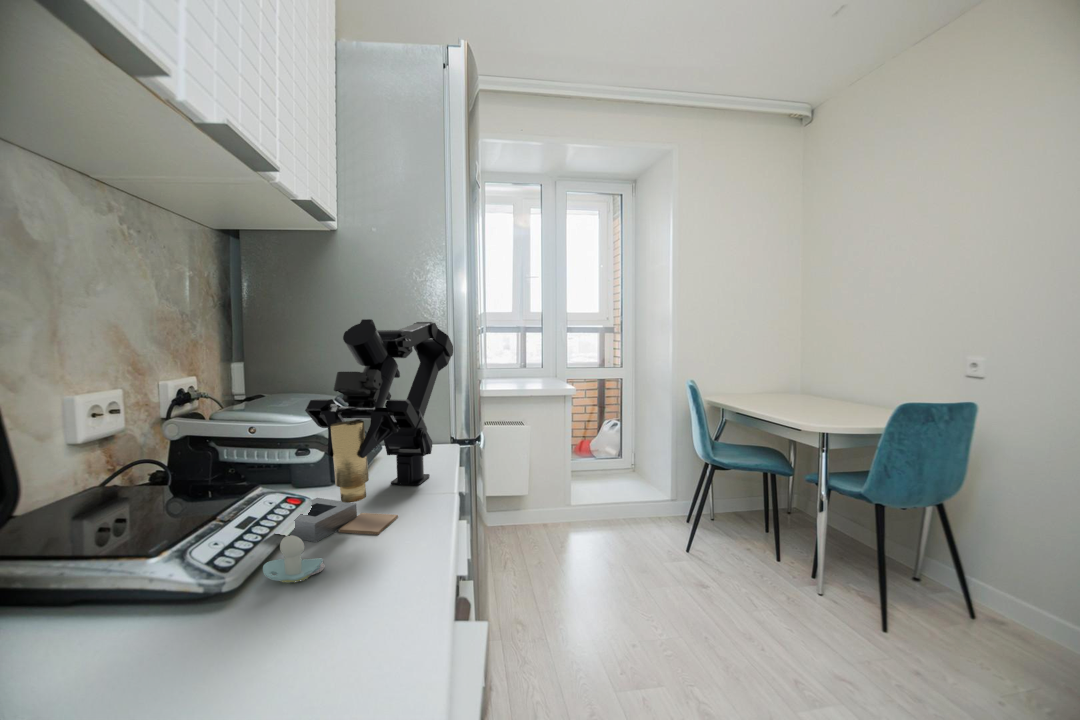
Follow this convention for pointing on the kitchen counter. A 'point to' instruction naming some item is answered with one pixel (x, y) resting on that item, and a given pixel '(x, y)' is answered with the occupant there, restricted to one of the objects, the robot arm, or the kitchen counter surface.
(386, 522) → the mat
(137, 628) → the kitchen counter surface
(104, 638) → the kitchen counter surface
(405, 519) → the kitchen counter surface
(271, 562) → the pacifier
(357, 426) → the gold metal cylinder
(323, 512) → the housing
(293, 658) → the kitchen counter surface
